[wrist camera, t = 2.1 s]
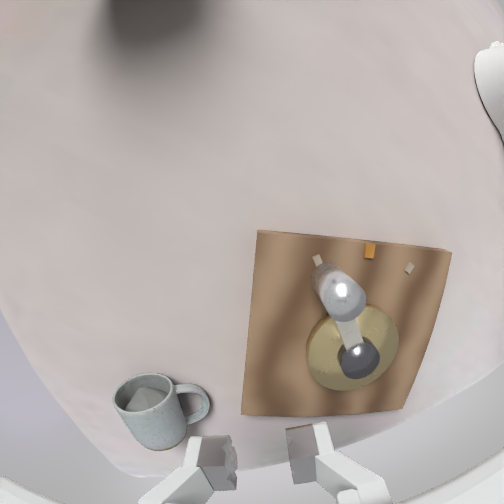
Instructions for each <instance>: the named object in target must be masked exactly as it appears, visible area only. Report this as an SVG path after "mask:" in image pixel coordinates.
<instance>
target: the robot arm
mask: <svg viewBox="0 0 504 504" xmlns="http://www.w3.org/2000/svg"><path fill="white" fill-rule="evenodd" d="M474 72H475V79H476V83H477V87H478V91H479V94H480V96H481V99H482V101H483V104H484V106H485V108H486V110H487V112H488V114H489V116H490V117H491V119H492V121H493V122H494V124H495V125H496V127H497V128H498V130H499V132H500V134H501V136H502V139H503V142H504V43H503V44H501V43H500V42H498V41H495V42H492V43H491V45H490V47H489V48H488V49H484V50H481V51H480V52H479V53H478V54H477V55H476V58H475V63H474ZM286 437H287V443H288V453H289V460H290V466H291V470H292V477H293V481H294V484H300V483H307V482H313V481H317V483H319V484H320V485H321V486H322V487H323V488H324V489H325V490H326V491H327V492H329V493H330V494H331V495H332V496H333V497H334V498H336V499H337V502H336V504H393V503H392V500H391V498H390V495H389V492H388V490H387V487H386V484H385V482H384V479H383V478H381V477H379V476H378V475H376V474H374V473H373V472H371V471H369V470H368V469H366V468H365V467H363V466H361V465H360V464H358V463H357V462H355V461H353V460H352V459H350V458H349V457H347V456H346V455H344V454H343V453H341V452H340V451H336V452H335V450H334V447H333V443H332V440H331V436H330V433H329V429H328V426H327V423H326V422H325V421H323V422H319V423H314V424H308V425H303V426H298V427H292V428H286ZM236 469H237V454H236V451H235V448H234V447H232V440H231V437H230V436H229V435H226V436H191V437H190V438H189V441H188V445H187V449H186V453H185V457H184V462H183V466H182V467H178V468H177V469H175V470H174V471H173V472H172V473H171V474H170V475H168V476H167V477H166V478H165V479H164V480H162V481H161V482H160V483H159V484H158V485H156V486H155V487H154V488H153V489H151V490H150V491H149V492H148V493H146V494H145V495H144V496H143V497H141V498H140V499H139V502H138V504H205V503H206V502H207V501H208V499H209V498H210V497H211V496H212V494H213V493H214V491H226V490H236V483H237V477H236V474H235V472H234V471H235V470H236ZM0 504H64V503H61V502H59V501H56V500H54V499H51V498H49V497H46V496H44V495H42V494H40V493H37V492H35V491H33V490H31V489H28V488H27V487H25V486H23V485H21V484H18V483H16V482H15V481H13V480H11V479H9V478H7V477H0ZM396 504H504V448H502V449H501V450H500V451H498V452H496V453H495V454H493V455H492V456H490V457H489V458H487V459H486V460H484V461H482V462H481V463H479V464H478V465H476V466H474V467H473V468H471V469H469V470H467V471H466V472H464V473H462V474H460V475H458V476H456V477H455V478H453V479H451V480H449V481H447V482H445V483H443V484H441V485H439V486H437V487H435V488H432V489H430V490H428V491H426V492H424V493H421V494H419V495H417V496H414V497H412V498H409V499H406V500H404V501H401V502H399V503H396Z"/></svg>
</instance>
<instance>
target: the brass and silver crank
mask: <svg viewBox="0 0 504 504" xmlns="http://www.w3.org/2000/svg"><path fill="white" fill-rule="evenodd" d="M311 283H312V286H313V288H314V289H315V291H316V293H317V294H318V296H319V298H320V299H321V301H322V303H323V305H324V306H325V308H326V310H327V311H328V313H327V314H325V315H324V316H323V317H322V318H321V319H320V320H319V321H318V322H317V323H316V324H315V326H314V327H313V329H312V330H311V332H310V334H309V337H308V339H307V343H306V359H307V362H308V366H309V369H310V372H311V374H312V376H313V377H314V379H315V380H316V381H317V382H318V383H320V384H321V385H323V386H324V387H327V388H329V389H333V390H339V391H346V390H353V389H357V388H360V387H363V386H365V385H367V384H369V383H371V382H373V381H374V380H376V379H377V378H378V377H379V376H381V375H382V374H383V373H384V372H385V371H386V369H387V368H388V367H389V366H390V364H391V363H392V361H393V359H394V357H395V355H396V352H397V348H398V342H399V336H398V331H397V328H396V326H395V324H394V322H393V321H392V320H391V318H390V317H389V316H388V315H387V314H386V313H385V312H384V311H382V310H381V309H380V308H379V307H377V306H375V305H373V304H369V303H366V294H365V292H364V290H363V289H362V288H361V287H360V286H359V285H358V284H357V283H356V282H355V281H354V280H353V279H352V278H351V277H350V276H349V275H348V274H347V273H346V272H345V271H344V270H342V269H341V268H340V267H339V266H338V265H337V264H335V263H333V262H324V263H322V264H320V265H318V266H317V267H316V268H315V269H314V271H313V273H312V276H311Z"/></svg>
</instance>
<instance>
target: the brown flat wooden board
mask: <svg viewBox="0 0 504 504" xmlns="http://www.w3.org/2000/svg"><path fill="white" fill-rule="evenodd" d="M451 255H452V252H449V251H446V250H444V249H438V248H430V247H422V246H413V245H405V244H396V243H387V242H378V241H369V240H359V239H350V238H340V237H330V236H320V235H309V234H299V233H288V232H277V231H265V230H257V242H256V253H255V264H254V275H253V287H252V298H251V309H250V320H249V331H248V342H247V353H246V363H245V374H244V385H243V396H242V408H241V415H255V416H285V417H305V416H335V415H350V414H362V413H372V412H381V411H389V410H396V409H402V408H403V406H404V404H405V401H406V399H407V397H408V395H409V392H410V390H411V388H412V385H413V383H414V381H415V378H416V376H417V373H418V371H419V368H420V365H421V363H422V360H423V357H424V355H425V352H426V349H427V346H428V343H429V340H430V337H431V334H432V331H433V328H434V324H435V321H436V318H437V314H438V311H439V307H440V303H441V300H442V296H443V292H444V288H445V284H446V279H447V275H448V270H449V265H450V260H451ZM324 262H333V263H335V264H337V265H338V266H339V267H340V268H341V269H342V270H344V271H345V272H346V273H347V274H348V275H349V276H350V277H351V278H352V279H353V280H354V281H355V282H356V283H357V284H358V285H359V286H360V287H361V288H362V289H363V290H364V292H365V294H366V303H369V304H373V305H375V306H377V307H379V308H380V309H381V310H382V311H384V312H385V313H386V314H387V315H388V316H389V317H390V318H391V320H392V321H393V322H394V324H395V326H396V328H397V331H398V336H399V342H398V348H397V352H396V355H395V357H394V359H393V361H392V363H391V364H390V366H389V367H388V368H387V369H386V371H385V372H384V373H383V374H382V375H381V376H379V377H378V378H377V379H376V380H374V381H373V382H371V383H369V384H367V385H365V386H363V387H360V388H357V389H353V390H346V391H339V390H333V389H329V388H327V387H324V386H323V385H321V384H320V383H318V382H317V381H316V380H315V379H314V377H313V376H312V374H311V372H310V369H309V366H308V362H307V359H306V343H307V339H308V337H309V334H310V332H311V330H312V329H313V327H314V326H315V324H316V323H317V322H318V321H319V320H320V319H321V318H322V317H323V316H324V315H325V314H327V313H328V311H327V310H326V308H325V306H324V305H323V303H322V301H321V299H320V298H319V296H318V294H317V293H316V291H315V289H314V288H313V286H312V283H311V276H312V273H313V271H314V269H315V268H316V267H317V266H318V265H320V264H322V263H324Z"/></svg>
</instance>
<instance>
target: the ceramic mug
mask: <svg viewBox="0 0 504 504" xmlns="http://www.w3.org/2000/svg"><path fill="white" fill-rule="evenodd" d="M179 393H197V394H199V395H201V397H202V403H201V406H202V408H201V409H200V410H199V411H197V412H195V413H194V414H191V415H189V416H186V417H184V413H183V410H182V409H181V406H180V403H179V399H178V396H177V394H179ZM113 404H114V407H115V409H116V410H117V412H118V413H119V415H120V416H121V418H122V419H123V421H124V423H125V424H126V426H127V427H128V428H129V430H130V431H131V433H132V434H133V436H134V437H135V439H136V440H137V441H138V442H139V443H140V444H141V445H143V446H144V447H146V448H148V449H150V450H154V451H163V450H168V449H171V448H173V447H175V446H177V445H178V444H179V443H180V442H181V441H182V440H183V439H184V437H185V435H186V431H187V425H189V424H192V423H195V422H198V421H199V420H201V419H203V418H204V417H205V416H206V414H207V413H208V411H209V408H210V402H209V398H208V396H207V394H206V392H205V391H204V390H203V389H202V388H201V387H199V386H197V385H194V384H178V385H173V383H172V381H171V380H170V379H169V378H168V377H166V376H164V375H162V374H157V373H146V374H140V375H136V376H134V377H131V378H129V379H127V380H126V381H124V382H123V383H122V384H121V385H120V386H119V387H118V388H117V389H116V391H115V393H114V395H113Z"/></svg>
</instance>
